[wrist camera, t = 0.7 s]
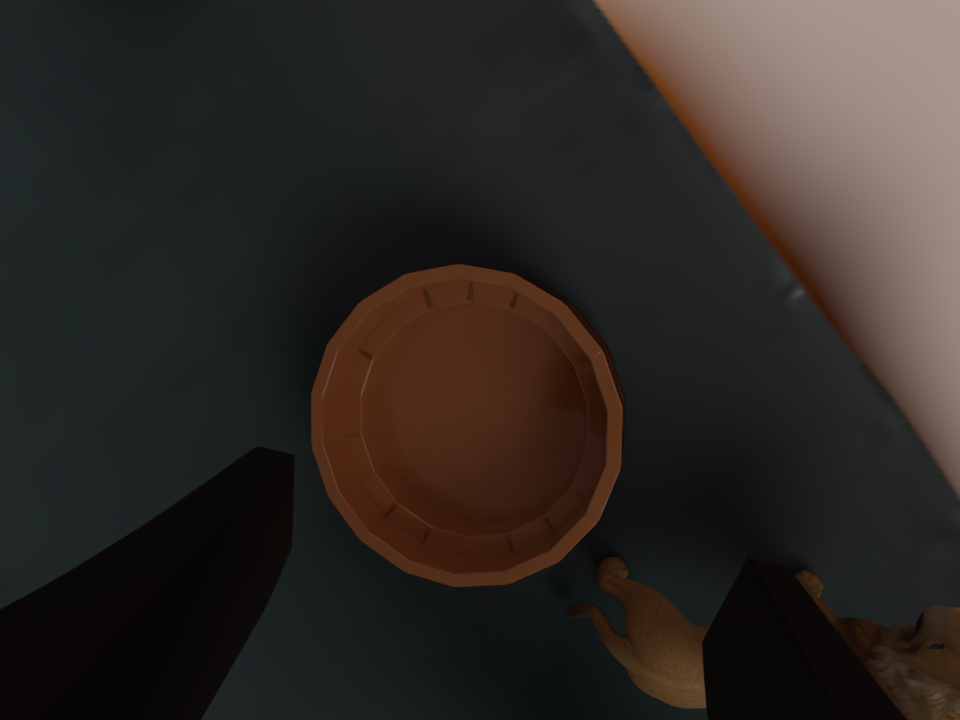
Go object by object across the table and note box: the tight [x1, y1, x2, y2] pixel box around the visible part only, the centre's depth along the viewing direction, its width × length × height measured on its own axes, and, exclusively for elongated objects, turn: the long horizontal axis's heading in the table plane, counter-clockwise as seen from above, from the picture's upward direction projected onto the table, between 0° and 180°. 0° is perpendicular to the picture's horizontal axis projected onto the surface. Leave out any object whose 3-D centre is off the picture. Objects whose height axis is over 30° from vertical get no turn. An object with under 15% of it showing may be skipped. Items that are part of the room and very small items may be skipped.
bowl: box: [311, 264, 625, 587], centre depth 28 cm, size 13×13×4 cm
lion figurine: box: [564, 557, 960, 720], centre depth 24 cm, size 15×5×9 cm, turn 99°
